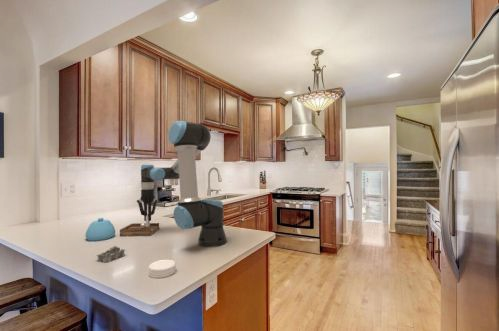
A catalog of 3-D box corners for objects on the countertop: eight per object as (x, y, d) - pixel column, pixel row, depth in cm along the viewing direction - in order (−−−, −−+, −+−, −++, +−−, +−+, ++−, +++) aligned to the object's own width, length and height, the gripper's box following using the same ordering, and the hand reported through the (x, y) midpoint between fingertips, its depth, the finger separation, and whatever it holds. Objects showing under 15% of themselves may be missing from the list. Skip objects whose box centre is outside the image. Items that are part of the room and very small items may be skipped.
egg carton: (116, 253, 118) (116, 245, 118) (127, 255, 115) (127, 247, 115) (94, 261, 109) (94, 251, 109) (105, 263, 105) (105, 254, 105)
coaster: (163, 280, 89) (163, 270, 89) (142, 276, 93) (142, 266, 93) (181, 269, 99) (181, 261, 99) (161, 266, 102) (161, 257, 102)
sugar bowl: (120, 234, 151) (120, 215, 151) (103, 242, 136) (103, 221, 136) (98, 234, 152) (97, 215, 152) (78, 241, 137) (78, 220, 138)
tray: (150, 235, 147) (150, 229, 147) (119, 236, 146) (119, 229, 147) (159, 229, 163) (159, 223, 163) (131, 229, 162) (131, 223, 163)
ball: (143, 222, 153) (138, 224, 153) (145, 228, 153) (139, 229, 153) (146, 221, 157) (140, 223, 157) (147, 226, 157) (142, 228, 157)
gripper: (160, 188, 159) (160, 224, 159) (139, 188, 159) (139, 224, 159) (155, 189, 152) (156, 227, 152) (134, 189, 151) (134, 227, 151)
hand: (147, 226), depth 155 cm, fingers closed
